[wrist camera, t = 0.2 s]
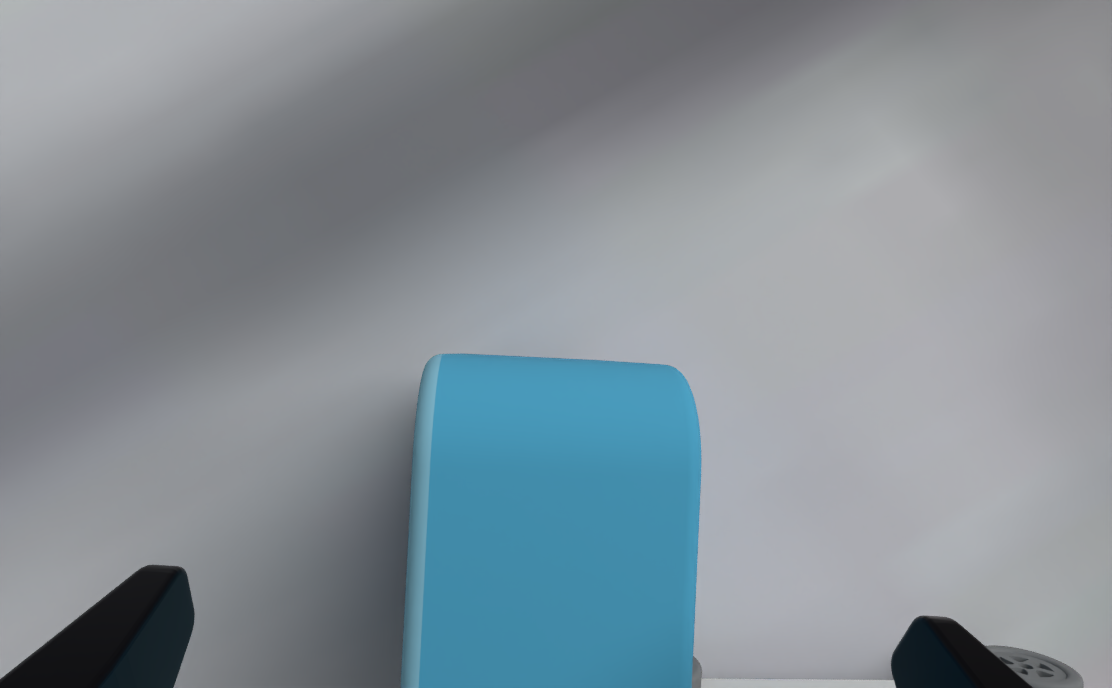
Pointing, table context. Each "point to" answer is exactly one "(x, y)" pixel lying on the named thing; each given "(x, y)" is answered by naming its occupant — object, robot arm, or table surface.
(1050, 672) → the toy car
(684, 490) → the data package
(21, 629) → the table surface
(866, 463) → the table surface
